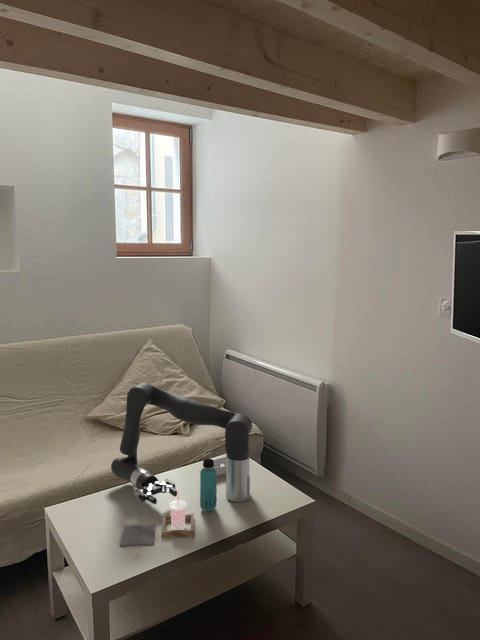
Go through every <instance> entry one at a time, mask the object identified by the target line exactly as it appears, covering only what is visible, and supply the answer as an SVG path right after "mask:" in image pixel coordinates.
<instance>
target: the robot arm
mask: <svg viewBox="0 0 480 640" xmlns="http://www.w3.org/2000/svg"><path fill="white" fill-rule="evenodd" d="M148 405H150V406H154V407H158V408H160V409H163V410H165V411H167V412H168V413H169V414H170V415H171V416H173V417H174V418H176V419H177V420H179V421H182V422H185V423H189V424H191V425H197V426H213V427H219V428H222V429H225V431H224V432H225V433H224V439H225V441H224V443H225V444H224V445H225V446H224V447H225V449H224V450H225V452H226V456H227V459H226V473H225V474H226V476H225V497H226V499H227V500H228V501H231V502H234V503H242V502H245V501H249V500H251V499H250V497H251V496H250V495H251V476H250V475H251V474H250V470H251V469H250V465H251V463H250V461H251V459H250V458H251V450H250V447H249V444H250V443H249V438H250V437H249V435H250V433H251V432H252V428H253V422H252V420H251V418H250V417H249V416H247V415H246V414H242V413H238V412H234V411H230V410H226V409H222V408H219V407H216V406H212V405H210V404H206V403H204V402H201V401H198V400H196V399H192V398H189V397H185V396H182V395H179V394H176V393H173V392H170V391H167V390H164V389H162V388H160V387H157V386H155V385H153V384H151V383H148V382H140V383H137V384H135V385H133V386H132V387H130V389H129V390H128V392H127V394H126V409H125V421H124V428H123V431H122V432H123V433H122V436H121V441H120V445H119V451H120V453H121V454H122V455H124V456H123V457H117V458H114V459H113V460H112V462H111V464H110V470H111V472H112V473H113V475H114V476H116V477H117V478H120V479H123V480H126V481H128V482H129V483H130V484H131V485H133V487H135V488H136V489H135V490H136V491H135V496H136V497H137V499H139V500H140V501H141V502H142V503H145V502H146V501H147V502H150V503H151V504H153V505H157V504H158V500H157V498H156V496H155V495H157V494H161V493H162V494H166V493H169V494H170V495H172V496H173V497H177V491H178V490H177V489H176V483H175V482H174V481H172V480H171V479H168V478H165V479H164V481H160V480H159V479H158V477H156V475H154V474H152V472H150V471H149V470H148V469H145V468H143V467H142V466H141V465H139V464H138V445H139V443H140V437H141V417H142V414H143V411H144V409H145V408H146V406H148Z"/></svg>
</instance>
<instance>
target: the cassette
mask: <svg viewBox="0 0 480 640" xmlns="http://www.w3.org/2000/svg"><path fill="white" fill-rule="evenodd" d="M211 459H212V460H213V461H214V466H213V468H214V469H215V470H216V471H217V473H216V477H218V476H221V475H225V474H226V459H227V455H223V456H220V457H215V458H211Z"/></svg>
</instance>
